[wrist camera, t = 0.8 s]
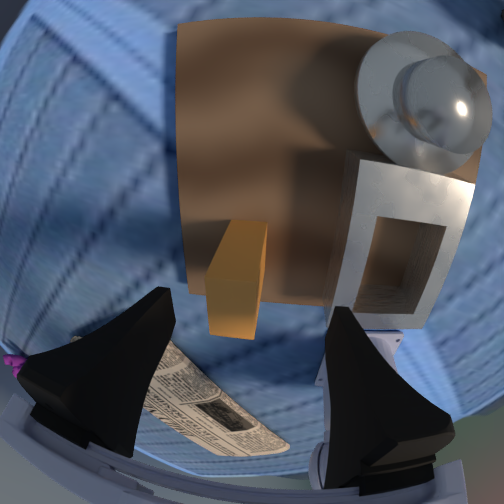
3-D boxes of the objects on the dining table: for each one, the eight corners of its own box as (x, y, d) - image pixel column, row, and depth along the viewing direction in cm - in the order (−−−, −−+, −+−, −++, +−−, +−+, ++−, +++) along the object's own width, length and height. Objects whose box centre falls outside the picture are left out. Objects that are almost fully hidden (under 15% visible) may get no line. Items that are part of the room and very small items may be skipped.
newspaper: (290, 440, 41) (289, 453, 39) (206, 445, 48) (204, 456, 45) (147, 304, 27) (137, 322, 25) (70, 335, 34) (61, 348, 31)
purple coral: (29, 353, 49) (-1, 356, 40) (45, 346, 44) (9, 350, 35) (41, 395, 46) (12, 400, 37) (60, 396, 41) (25, 404, 32)
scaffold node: (411, 300, 21) (434, 352, 15) (318, 296, 21) (324, 354, 16) (460, 63, 11) (514, 60, 6) (347, 28, 12) (374, -5, 6)
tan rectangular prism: (264, 271, 21) (253, 339, 15) (231, 268, 21) (210, 334, 15) (267, 222, 19) (256, 282, 13) (231, 219, 19) (204, 277, 13)
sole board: (426, 299, 22) (431, 309, 21) (194, 283, 24) (189, 293, 23) (475, 74, 12) (486, 74, 10) (185, 29, 14) (177, 24, 12)
